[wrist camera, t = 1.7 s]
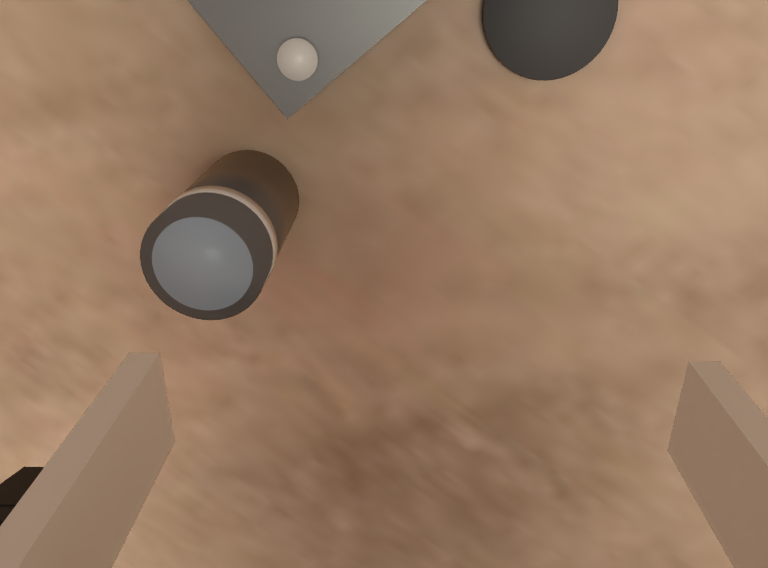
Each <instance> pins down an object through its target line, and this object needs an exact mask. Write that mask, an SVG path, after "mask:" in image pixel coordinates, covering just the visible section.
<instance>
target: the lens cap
mask: <svg viewBox="0 0 768 568" xmlns="http://www.w3.org/2000/svg"><path fill="white" fill-rule="evenodd" d="M617 11H618V0H484V2H483V10H482V22H483V29H484V33H485V37H486V40H487V42H488V44H489V47H490V48H491V50H492V52H493V53H494V55H495V56H496V57H497V59H498V60H499V61H500V62H501V63H502V64H503V65H504V66H506V67H507V68H508V69H510V70H511V71H513V72H514V73H516V74H518V75H520V76H523V77H526V78H529V79H534V80H554V79H559V78H563V77H566V76H568V75H571V74H573V73H575V72H577V71H579V70H580V69H582V68H583V67H585V66H586V65H587V64H588V63H590V62H591V61H592V60H593V59H594V58H595V57H596V56H597V55H598V54H599V52H600V51H601V50H602V48H603V47H604V46H605V44H606V42H607V40H608V39H609V37H610V35H611V32H612V30H613V27H614V24H615V21H616V16H617Z"/></svg>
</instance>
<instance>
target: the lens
mask: <svg viewBox="0 0 768 568" xmlns="http://www.w3.org/2000/svg"><path fill="white" fill-rule="evenodd" d="M298 206H299V195H298V190H297V186H296V183H295V181H294V179H293V177H292V176H291V174H290V173H289V171H288V170H287V169H286V168H285V167H284V166H283V165H282V164H281V163H280V162H279V161H278V160H276V159H274V158H273V157H271V156H269V155H267V154H264V153H261V152H257V151H249V150H245V151H237V152H233V153H230V154H228V155H226V156H224V157H222V158H221V159H220V160H218V161H217V162H216V163H215V164H214V165H213V166H212V167H211V168H210V169H209V170H208V171H207V172H205V173H204V174H203V175H202V176H201V177H200V178H199V179H198V180H197V181H196V182H195V183H194V184H193V185H191V186H190V187H189V188H188V189H187V190H186V191H185V192H184V193H183V194H181V195H180V196H178V197H177V198H176V199H175V200H174V201H172V202H171V203H170V204H169V205H168V206H167V207H166V208H165V209H164V211H163V212H162V213H161V214H160V215H159V216H158V217H157V218H156V219H155V220H154V221H153V222H152V223H151V225H150V226H149V227H148V229H147V231H146V233H145V234H144V237H143V240H142V243H141V249H140V260H141V266H142V270H143V274H144V276H145V278H146V281H147V282H148V284H149V286H150V287H151V289H152V290H153V292H154V293H155V294H156V295H157V296H158V297H159V298H160V299H161V300H162V301H163V302H164V303H165V304H166V305H168V306H169V307H171V308H172V309H174V310H176V311H177V312H179V313H181V314H184V315H186V316H189V317H193V318H196V319H202V320H220V319H225V318H229V317H232V316H235V315H237V314H239V313H241V312H242V311H244V310H245V309H247V308H248V307H249V306H250V305H251V304H252V303H253V302H254V301H255V300H256V299H257V297H258V295H259V294H260V292H261V290H262V288H263V286H264V284H265V282H266V281H267V279H268V277H269V275H270V273H271V271H272V269H273V267H274V264H275V261H276V258H277V256H278V254H279V251H280V249H281V247H282V245H283V243H284V241H285V239H286V236H287V234H288V232H289V230H290V228H291V226H292V224H293V222H294V219H295V217H296V215H297V211H298Z"/></svg>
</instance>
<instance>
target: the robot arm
mask: <svg viewBox="0 0 768 568" xmlns="http://www.w3.org/2000/svg"><path fill="white" fill-rule="evenodd" d="M174 442H175V438H174V433H173V427H172V421H171V415H170V410H169V404H168V398H167V392H166V386H165V381H164V375H163V369H162V363H161V358H160V353H129V354H128V355H127V357H126V358H125V359H124V361H123V362H122V363H121V365H120V366H119V368H118V369H117V370H116V372H115V373H114V374H113V376H112V377H111V378H110V380H109V381H108V382H107V384H106V385H105V386H104V388H103V389H102V390H101V392H100V393H99V394H98V396H97V397H96V398H95V400H94V401H93V402H92V404H91V405H90V406H89V408H88V409H87V411H86V412H85V413H84V415H83V416H82V417H81V419H80V420H79V421H78V423H77V424H76V425H75V427H74V428H73V429H72V431H71V432H70V433H69V435H68V436H67V437H66V439H65V440H64V441H63V443H62V444H61V445H60V447H59V448H58V449H57V451H56V452H55V453H54V455H53V456H52V458H51V459H50V460H49V462H48V463H47V464H46V466H45V467H23V468H22V469H21V470H19V471H18V472H16V473H15V474H14V475H12V476H11V477H9V478H8V479H7V480H5V481H4V482H3V483H1V484H0V568H112V566H113V564H114V562H115V560H116V558H117V556H118V554H119V552H120V550H121V548H122V546H123V544H124V542H125V540H126V538H127V536H128V534H129V532H130V530H131V528H132V526H133V524H134V522H135V520H136V518H137V516H138V514H139V512H140V510H141V508H142V506H143V504H144V502H145V500H146V498H147V496H148V494H149V492H150V490H151V488H152V486H153V484H154V482H155V480H156V478H157V476H158V474H159V472H160V470H161V468H162V466H163V464H164V462H165V460H166V458H167V456H168V454H169V452H170V450H171V448H172V446H173V444H174ZM668 452H669V454H670V455H671V457H672V459H673V461H674V463H675V464H676V466H677V468H678V470H679V471H680V473H681V475H682V477H683V478H684V480H685V482H686V484H687V486H688V487H689V489H690V491H691V493H692V494H693V496H694V498H695V500H696V501H697V503H698V505H699V507H700V509H701V510H702V512H703V514H704V516H705V517H706V519H707V521H708V523H709V525H710V526H711V528H712V530H713V532H714V533H715V535H716V537H717V539H718V540H719V542H720V544H721V546H722V548H723V549H724V551H725V553H726V555H727V556H728V558H729V560H730V562H731V563H732V565H733V567H734V568H768V418H767V417H766V416H765V414H764V413H763V412H762V411H761V410H760V408H759V407H758V406H757V405H756V404H755V402H754V401H753V400H752V399H751V398H750V397H749V395H748V394H747V393H746V392H745V391H744V389H743V388H742V387H741V386H740V385H739V383H738V382H737V381H736V380H735V379H734V377H733V376H732V375H731V374H730V373H729V371H728V370H727V369H726V368H725V367H724V365H723V364H722V363H721V362H718V361H689V362H688V366H687V370H686V374H685V379H684V383H683V387H682V391H681V396H680V400H679V404H678V408H677V412H676V417H675V421H674V425H673V429H672V434H671V438H670V442H669V446H668Z"/></svg>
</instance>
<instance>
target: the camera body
mask: <svg viewBox="0 0 768 568" xmlns="http://www.w3.org/2000/svg"><path fill="white" fill-rule="evenodd" d="M425 1H426V0H188V2H189V3H190V4H191V5H192V6H193V8H194V9H195V10H196V11H197V12H198V14H199V15H200V16H201V17H202V18H203V19H204V21H205V22H206V23H207V24H208V25H209V27H210V28H211V29H212V30H213V31H214V33H215V34H216V35H217V36H218V37H219V38H220V40H221V41H222V42H223V43H224V44H225V46H226V47H227V48H228V49H229V50H230V52H231V53H232V54H233V55H234V56H235V57H236V59H237V60H238V61H239V62H240V63H241V65H242V66H243V67H244V68H245V69H246V71H247V72H248V73H249V74H250V75H251V76H252V78H253V79H254V80H255V81H256V82H257V84H258V85H259V86H260V87H261V88H262V89H263V91H264V92H265V93H266V94H267V95H268V97H269V98H270V99H271V100H272V101H273V103H274V104H275V105H276V106H277V107H278V108H279V110H280V111H281V112H282V113H283V114H284V116H285V117H286V118H287V119H288V118H289V117H291V116H292V115H293V114H294V113H295V112H296V111H298V110H299V109H300V108H301V107H302V106H304V105H305V104H306V103H307V102H308V101H309V100H311V99H312V98H313V97H314V96H315V95H316V94H318V93H319V92H320V91H321V90H322V89H323V88H325V87H326V86H327V85H328V84H329V83H330V82H332V81H333V80H334V79H335V78H336V77H337V76H339V75H340V74H341V73H342V72H343V71H345V70H346V69H347V68H348V67H349V66H350V65H352V64H353V63H354V62H355V61H356V60H357V59H359V58H360V57H361V56H362V55H363V54H364V53H366V52H367V51H368V50H369V49H370V48H371V47H373V46H374V45H375V44H376V43H377V42H378V41H380V40H381V39H382V38H383V37H384V36H385V35H387V34H388V33H389V32H390V31H391V30H393V29H394V28H395V27H396V26H397V25H398V24H400V23H401V22H402V21H403V20H404V19H405V18H407V17H408V16H409V15H410V14H411V13H412V12H414V11H415V10H416V9H417V8H418V7H419V6H421V5H422V4H423V3H424V2H425Z"/></svg>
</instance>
